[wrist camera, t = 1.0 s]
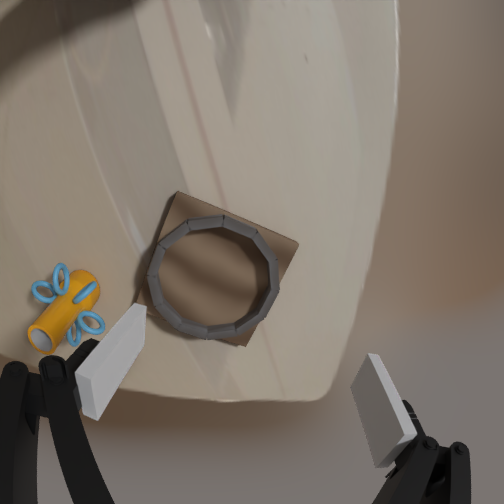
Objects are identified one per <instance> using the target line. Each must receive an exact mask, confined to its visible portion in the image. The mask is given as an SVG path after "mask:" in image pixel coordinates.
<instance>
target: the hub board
mask: <svg viewBox="0 0 504 504" xmlns="http://www.w3.org/2000/svg"><path fill="white" fill-rule="evenodd" d="M298 246H299V244H298V243H297V242H296V241H294V240H292V239H290V238H287V237H285V236H283V235H280V234H278V233H276V232H274V231H271V230H269V229H267V228H264V227H262V226H260V225H258V224H255V223H253V222H251V221H248V220H246V219H244V218H241V217H239V216H237V215H234V214H232V213H230V212H227V211H225V210H223V209H220V208H218V207H215V206H213V205H211V204H208V203H206V202H204V201H201V200H199V199H196V198H194V197H191V196H189V195H187V194H184V193H182V192H179V191H177V193H176V195H175V198H174V200H173V203H172V205H171V207H170V210H169V212H168V215H167V218H166V220H165V223H164V225H163V228H162V231H161V233H160V236H159V239H158V241H157V244H156V247H155V249H154V252H153V255H152V258H151V261H150V263H149V266H148V269H147V272H146V275H145V278H144V281H143V284H142V287H141V290H140V293H139V296H138V300H137V304H140V305H144V306H147V308H146V313H147V314H150V315H152V316H155V317H158V318H161V319H163V320H166V321H168V322H169V323H170V324H171V325H172V326H173V327H174V328H175V329H177V330H178V331H181V332H184V333H186V334H189V335H192V336H195V337H198V338H201V339H205V340H206V338H207V340H212V339H222V340H225V341H228V342H232V343H235V344H238V345H241V346H245V347H246V345H247V344H248V342H249V340H250V338H251V336H252V334H253V333H254V331H255V329H256V327H257V325H258V323H259V322H261V321H262V320H264V318H266V316H267V314H268V312H269V310H270V308H271V306H272V305H273V303H274V301H275V299H276V297H277V295H278V293H279V290H280V287H279V284H280V282H281V280H282V278H283V276H284V274H285V272H286V270H287V268H288V266H289V264H290V262H291V260H292V258H293V256H294V254H295V252H296V250H297V248H298Z"/></svg>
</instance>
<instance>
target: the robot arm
mask: <svg viewBox="0 0 504 504" xmlns="http://www.w3.org/2000/svg"><path fill="white" fill-rule="evenodd" d="M146 308H147V306H144V305H140V304H137V303H134V304H133V305H132V306H131V307H130V308H129V309H128V311H127V312H126V313H125V314H124V315H123V316H122V317H121V318H120V320H119V321H118V322H117V323H116V324H115V325H114V326H113V328H112V329H111V330H110V331H109V332H108V333H107V335H106V336H105V337H104V338H103V339H102V340H101V342H100V341H97V340H95V339H92V338H91V339H89V340H87V341H84V342H83V343H82V344H81V345H80V346H79V347H78V349H76V350H75V352H74V353H73V354H72V355H71V356H70V357H69V358H68V359H67V360H66V361H65V360H64V359H63V358H62V357H59V356H55V355H50V356H46V357H44V358H42V359H41V360H40V362H39V366H38V367H39V371H40V374H41V375H40V374H36V373H31V372H29V371H28V368H27V366H26V365H25V364H24V363H22V362H19V361H12V362H9V363H8V364H6V365H5V367H4V368H3V371H2V374H1V378H0V504H38V502H37V445H38V431H39V419H40V416H43V417H47V418H49V423H50V428H51V432H52V436H53V440H54V445H55V448H56V451H57V456H58V459H59V462H60V466H61V469H62V472H63V475H64V478H65V481H66V484H67V487H68V490H69V492H70V495H71V498H72V501H73V503H74V504H115V503H114V501H113V499H112V497H111V495H110V493H109V491H108V489H107V487H106V484H105V482H104V480H103V478H102V475H101V473H100V471H99V469H98V466H97V463H96V461H95V459H94V456H93V453H92V450H91V448H90V445H89V442H88V439H87V437H86V434H85V431H84V428H83V425H82V422H81V418H80V415H79V410H80V409H81V407H82V410H83V414H84V415H86V416H88V417H90V418H92V419H95V420H97V421H98V419H99V418H100V416H101V415H102V413H103V411H104V409H105V408H106V406H107V404H108V403H109V401H110V399H111V398H112V396H113V394H114V393H115V391H116V390H117V388H118V386H119V385H120V383H121V381H122V380H123V378H124V376H125V375H126V373H127V372H128V370H129V368H130V367H131V365H132V364H133V362H134V360H135V359H136V357H137V356H138V354H139V352H140V351H141V349H142V348H143V346H144V341H145V323H146ZM351 390H352V394H353V396H354V400H355V402H356V406H357V409H358V412H359V415H360V418H361V422H362V424H363V428H364V431H365V434H366V438H367V441H368V444H369V448H370V451H371V455H372V458H373V461H374V465H375V468H384V467H388V466H389V465H390V464H391V463H392V462H393V461H395V464H396V466H395V467H394V468H393V469H392V470H391V471H390V473H388V474H387V476H386V478H387V477H388V476H389V477H388V478H387V480H386V482H385V484H384V485H383V487H382V489H381V490H380V492H379V493H378V495H377V497H376V498H375V500H374V501H373V503H372V504H471V470H470V455H469V449H468V448H467V446H466V445H465V444H463V443H461V442H454V443H453V444H452V445H451V446H450V447H449V448H447V447H442V446H439V444H438V443H437V441H436V440H435V439H434V438H432V437H429V436H426V435H425V433H424V431H423V429H422V427H421V424H420V423H419V420H418V419H417V416H416V414H414V411H413V408H412V407H411V405H410V404H409V403H408V402H407V401H406V400H401V398H400V396H399V394H398V392H397V390H396V388H395V386H394V384H393V382H392V380H391V378H390V376H389V374H388V372H387V370H386V368H385V367H384V365H383V363H382V361H381V359H380V357H379V355H377V354H369V353H368V354H367V356H366V358H365V360H364V362H363V364H362V366H361V368H360V370H359V372H358V373H357V375H356V377H355V379H354V381H353V383H352V385H351Z"/></svg>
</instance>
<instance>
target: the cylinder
mask: <svg viewBox="0 0 504 504" xmlns="http://www.w3.org/2000/svg"><path fill="white" fill-rule="evenodd" d="M60 269H62V270H63V273H64V280H63V281H62V282H61V283H60V285H59V283H58V275H59V271H60ZM38 286H44V287H46V288H48V289H50V290H51V291H52V293H53V297H50V298H47V297H44V296H42V295H40V294H39V293H38V292H37V290H36V288H37V287H38ZM31 290H32V293H33V295H34V296H35V297H36V298H37V299H38V300H39V301H41V302H44V303H51V304H50V305H49V306H48V307H47V308H46V309H45V310H44V311H43V313H42V314H41V315H40V316H39V317H38V318H37V319H36V320H35V322H34V323H33V324H32V325H31V326H30V327H29V329H28V338H29V341H30V342H31V344H32V345H33V347H34V348H35V349H36V350H38V351H39V352H41V353H43V354H47V355H49V354H52V353H54V351H55V350H56V348H57V347H58V345H59V344H60V342H61V341H62V339H63V338H64V336H65V335H67V339H68V342H69V343H70V345H71V346H74V347H75V346H77V345H78V344H79V343H80V340H81V328H82V329H83V330H84V331H86V332H88V333H90V334H94V335H98V334H101V333H103V332H104V330H105V323H104V321H103V319H102V318H101V317H100V316H99V315H97V314H96V313H94V312H91V309H92V308H93V306H94V305H95V303H96V302H97V300H98V299H99V296H100V287H99V284H98V282H97V280H96V278H95V277H94V276H93V275H92V274H90V273H89V272H87V271H84V270H76V271H73V272H72V273H71V274H69V272H68V269H67V267H66V265H65V264H63V263H59V264H57V265H56V267H55V269H54V272H53V285H52V284H50V283H48V282H46V281H36V282H34V283H33V285H32V288H31ZM84 316H89V317H92V318H94V319H95V320H97V321H98V323H99V325H100V327H99V328H98V329H93V328H90V327H88V326H87V325H86V324H85V323H84V322H83V320H82V318H83V317H84ZM73 323H75V325H76V339H75V341H73V338H72V334H71V328H72V325H73Z"/></svg>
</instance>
